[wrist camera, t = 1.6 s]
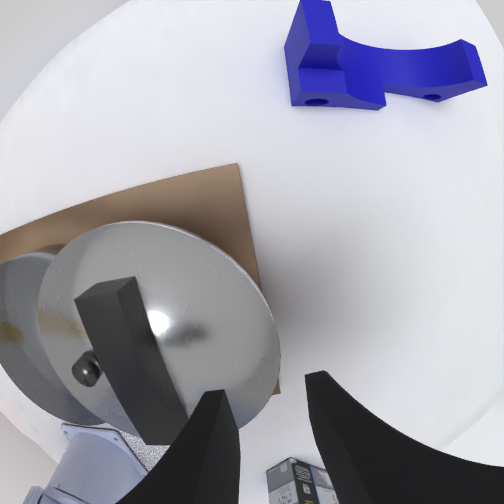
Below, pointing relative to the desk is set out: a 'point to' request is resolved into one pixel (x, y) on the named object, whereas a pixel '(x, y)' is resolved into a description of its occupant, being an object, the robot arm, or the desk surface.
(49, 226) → the walnut board
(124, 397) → the lid
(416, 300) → the desk surface
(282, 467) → the grey blue carton
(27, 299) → the grey dish and cube
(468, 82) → the cable clip
